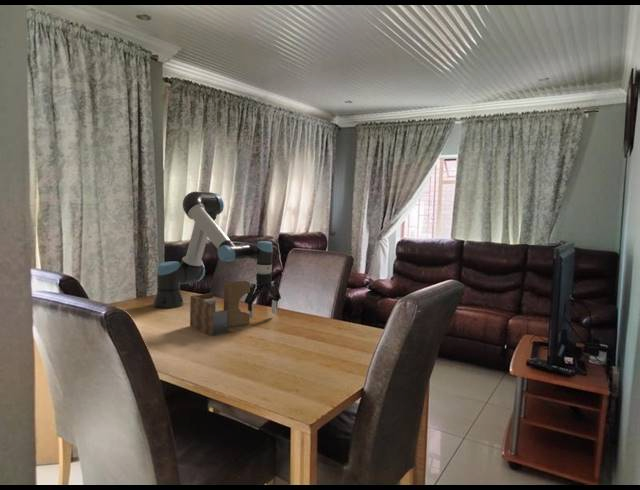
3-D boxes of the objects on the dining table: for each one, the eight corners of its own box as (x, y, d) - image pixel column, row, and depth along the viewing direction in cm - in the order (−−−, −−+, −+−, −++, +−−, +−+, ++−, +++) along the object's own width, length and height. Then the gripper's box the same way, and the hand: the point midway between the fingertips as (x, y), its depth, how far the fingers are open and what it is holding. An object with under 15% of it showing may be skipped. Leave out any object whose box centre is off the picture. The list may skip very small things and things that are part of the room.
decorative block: (245, 321, 200) (246, 280, 198) (249, 324, 195) (250, 282, 193) (222, 324, 194) (223, 282, 192) (226, 327, 189) (227, 284, 187)
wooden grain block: (190, 325, 189) (190, 295, 188) (211, 322, 196) (211, 293, 195) (209, 336, 175) (210, 303, 174) (231, 332, 182) (231, 300, 181)
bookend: (207, 333, 180) (207, 312, 179) (226, 329, 186) (226, 309, 185) (212, 335, 176) (213, 315, 175) (231, 332, 182) (232, 312, 181)
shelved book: (195, 326, 188) (195, 300, 187) (211, 323, 194) (212, 298, 193) (198, 327, 186) (198, 301, 185) (215, 325, 192) (215, 299, 191)
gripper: (246, 276, 191) (245, 320, 193) (288, 272, 208) (287, 313, 210) (237, 273, 197) (236, 317, 199) (279, 269, 214) (278, 310, 216)
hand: (262, 315), depth 204 cm, fingers open, 13 cm apart
